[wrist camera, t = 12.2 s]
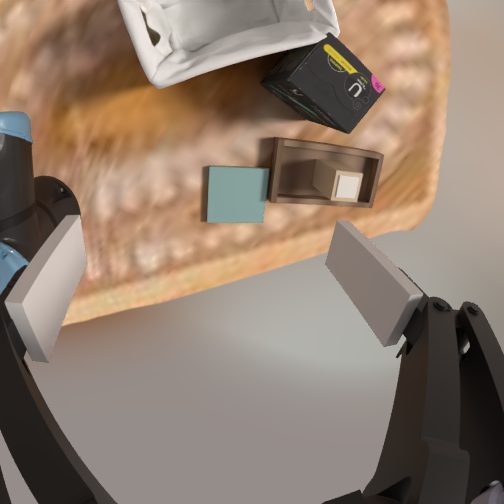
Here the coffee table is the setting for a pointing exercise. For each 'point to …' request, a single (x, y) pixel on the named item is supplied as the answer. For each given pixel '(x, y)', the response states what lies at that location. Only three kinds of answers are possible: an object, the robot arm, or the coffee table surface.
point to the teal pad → (236, 194)
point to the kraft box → (337, 180)
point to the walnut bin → (303, 166)
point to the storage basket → (218, 32)
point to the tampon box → (325, 84)
